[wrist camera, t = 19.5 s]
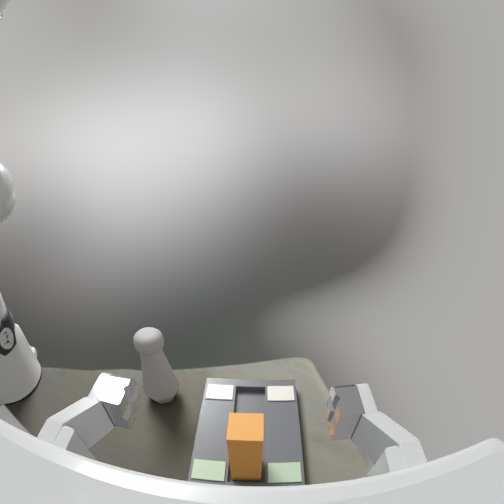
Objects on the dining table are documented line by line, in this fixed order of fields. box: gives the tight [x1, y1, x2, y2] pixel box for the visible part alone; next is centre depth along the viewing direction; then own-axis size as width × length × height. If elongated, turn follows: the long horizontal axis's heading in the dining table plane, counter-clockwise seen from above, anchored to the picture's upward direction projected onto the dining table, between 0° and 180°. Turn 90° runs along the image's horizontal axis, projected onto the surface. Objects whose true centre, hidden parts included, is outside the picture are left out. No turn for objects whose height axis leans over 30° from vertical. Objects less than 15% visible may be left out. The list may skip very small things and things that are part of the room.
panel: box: [188, 378, 305, 486], centre depth 35 cm, size 14×20×2 cm
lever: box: [226, 412, 264, 481], centre depth 27 cm, size 4×4×11 cm
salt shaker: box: [133, 327, 179, 404], centre depth 40 cm, size 6×6×13 cm
